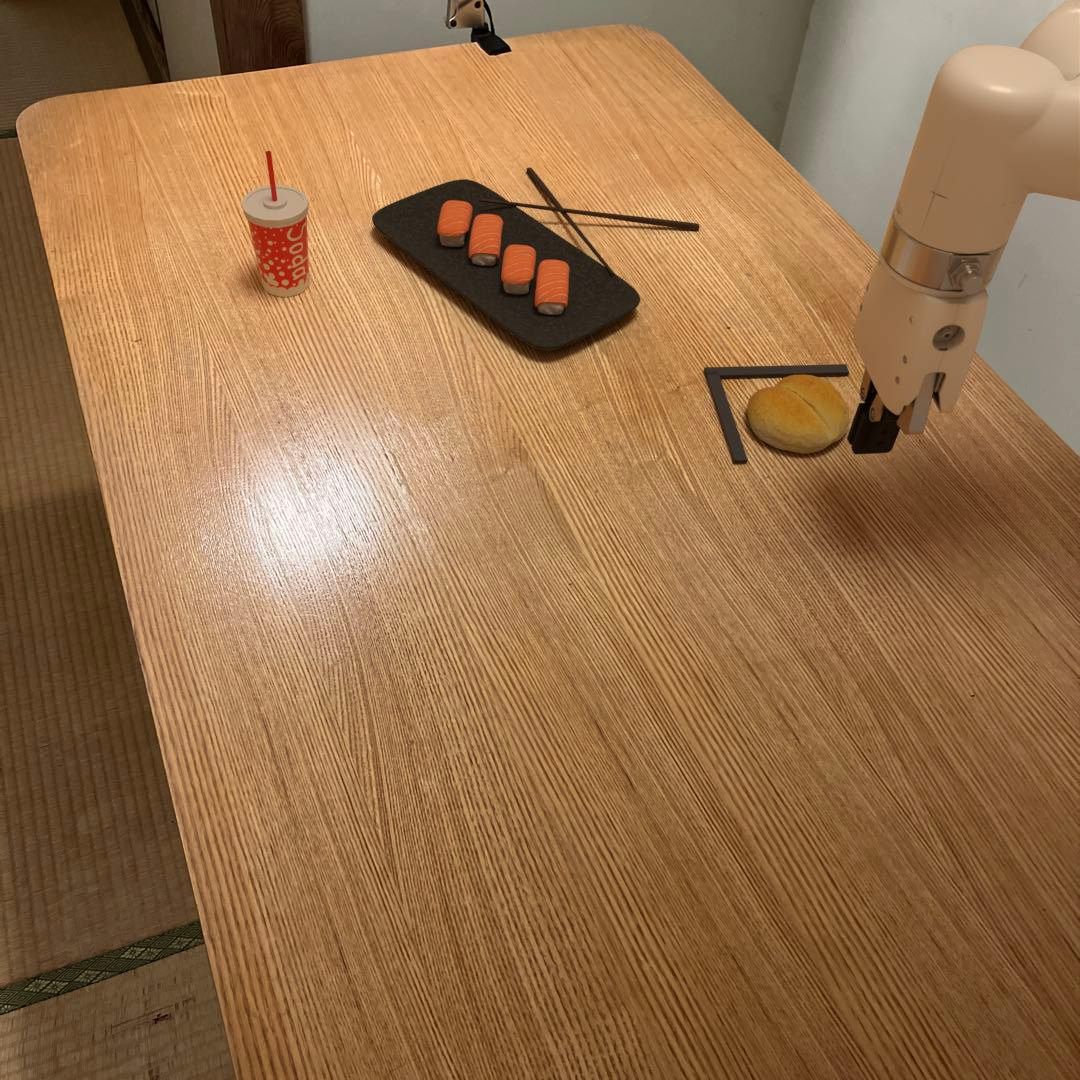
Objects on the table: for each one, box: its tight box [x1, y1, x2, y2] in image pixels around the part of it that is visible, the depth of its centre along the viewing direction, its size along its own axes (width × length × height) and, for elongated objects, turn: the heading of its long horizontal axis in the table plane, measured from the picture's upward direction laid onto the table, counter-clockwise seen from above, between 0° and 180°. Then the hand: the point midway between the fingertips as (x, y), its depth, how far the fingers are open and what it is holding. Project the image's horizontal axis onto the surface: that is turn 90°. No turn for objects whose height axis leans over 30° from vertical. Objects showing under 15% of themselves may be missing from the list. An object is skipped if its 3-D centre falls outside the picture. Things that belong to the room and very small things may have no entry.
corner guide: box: [703, 363, 850, 465], centre depth 99 cm, size 14×13×1 cm
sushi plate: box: [371, 167, 700, 351], centre depth 113 cm, size 29×30×4 cm
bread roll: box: [746, 375, 850, 455], centre depth 96 cm, size 8×9×4 cm
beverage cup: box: [241, 150, 310, 298], centre depth 102 cm, size 6×6×14 cm
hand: (868, 446), depth 85 cm, fingers closed
